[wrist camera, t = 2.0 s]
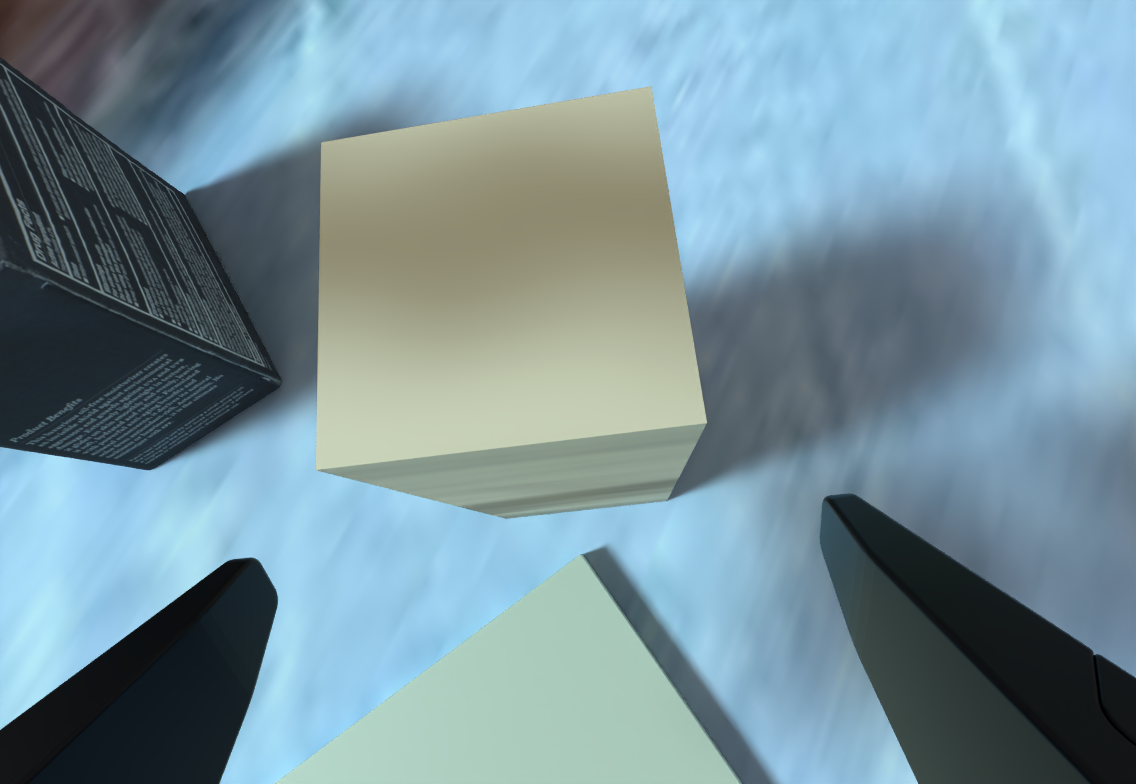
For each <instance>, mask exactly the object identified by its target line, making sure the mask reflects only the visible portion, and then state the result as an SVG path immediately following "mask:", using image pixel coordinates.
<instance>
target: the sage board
mask: <svg viewBox="0 0 1136 784" xmlns="http://www.w3.org/2000/svg"><path fill="white" fill-rule="evenodd" d="M275 784H742V782H741V781H740V779H739V778H738V776H737V775H736V774H735V772H734V771H733V769H732V768H731V766H730V765H729V764H728V762H727V761H726V759H725V758H724V756H723V755H722V753H721V752H720V751H719V749H718V748H717V746H716V745H715V743H714V742H713V741H712V739H711V738H710V736H709V735H708V733H707V732H706V731H705V729H704V728H703V726H702V725H701V723H700V722H699V720H698V719H697V718H696V716H695V715H694V713H693V712H692V710H691V709H690V708H689V706H688V705H687V703H686V702H685V700H684V699H683V697H682V696H681V695H680V693H679V692H678V690H677V689H676V687H675V686H674V685H673V683H672V682H671V680H670V679H669V677H668V676H667V674H666V673H665V672H664V670H663V669H662V667H661V666H660V664H659V663H658V662H657V660H656V659H655V657H654V656H653V654H652V653H651V652H650V650H649V649H648V647H647V646H646V644H645V643H644V641H643V640H642V639H641V637H640V636H639V634H638V633H637V631H636V630H635V629H634V627H633V626H632V624H631V623H630V621H629V620H628V618H627V617H626V616H625V614H624V613H623V611H622V610H621V608H620V607H619V606H618V604H617V603H616V601H615V600H614V598H613V597H612V596H611V594H610V593H609V591H608V590H607V588H606V587H605V585H604V584H603V583H602V581H601V580H600V578H599V577H598V575H597V574H596V573H595V571H594V570H593V568H592V567H591V565H590V564H589V562H588V561H587V560H586V558H585V557H584V555H583V554H580V555H579V556H577V557H576V558H575V559H573V560H572V561H571V562H569V563H568V564H567V565H565V566H564V567H563V568H561V569H560V570H559V571H557V572H556V573H555V574H553V575H552V576H551V577H549V578H548V579H547V580H545V581H544V582H543V583H541V584H540V585H539V586H537V587H536V588H535V589H533V590H532V591H531V592H529V593H528V594H527V595H525V596H524V597H523V598H521V599H520V600H519V601H517V602H516V603H515V604H513V605H512V606H511V607H509V608H508V609H507V610H505V611H504V612H503V613H501V614H500V615H499V616H497V617H496V618H495V619H493V620H492V621H491V622H489V623H488V624H487V625H485V626H484V627H483V628H481V629H480V630H479V631H477V632H476V633H475V634H473V635H472V636H471V637H469V638H468V639H467V640H465V641H464V642H463V643H461V644H460V645H459V646H457V647H456V648H455V649H453V650H452V651H451V652H449V653H448V654H447V655H445V656H444V657H443V658H441V659H440V660H439V661H437V662H436V663H435V664H433V665H432V666H431V667H429V668H428V669H427V670H425V671H424V672H423V673H421V674H420V675H419V676H417V677H416V678H415V679H413V680H412V681H411V682H409V683H408V684H407V685H405V686H404V687H403V688H401V689H400V690H399V691H397V692H396V693H395V694H393V695H392V696H391V697H389V698H388V699H387V700H385V701H384V702H383V703H381V704H380V705H379V706H377V707H376V708H375V709H373V710H372V711H371V712H369V713H368V714H367V715H365V716H364V717H363V718H361V719H360V720H359V721H357V722H356V723H355V724H353V725H352V726H351V727H349V728H348V729H347V730H345V731H344V732H343V733H341V734H340V735H339V736H337V737H336V738H335V739H333V740H332V741H331V742H329V743H328V744H327V745H325V746H324V747H323V748H321V749H320V750H319V751H317V752H316V753H315V754H313V755H312V756H311V757H309V758H308V759H307V760H305V761H304V762H303V763H301V764H300V765H299V766H297V767H296V768H295V769H293V770H292V771H291V772H289V773H288V774H287V775H285V776H284V777H283V778H281V779H280V780H279V781H277V782H276V783H275Z"/></svg>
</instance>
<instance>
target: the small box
mask: <svg viewBox="0 0 1136 784" xmlns="http://www.w3.org/2000/svg"><path fill="white" fill-rule="evenodd" d="M280 384H281V379H280V377H279V375H278V373H277V371H276V370H275V368H274V366H273V363H272V361H271V360H270V358H269V355H268V353H267V352H266V349H265V347H264V346H263V344H262V342H261V340H260V338H259V336H258V334H257V333H256V331H255V329H254V327H253V325H252V323H251V321H250V319H249V317H248V314H247V312H246V311H245V309H244V308H243V305H242V303H241V302H240V300H239V298H238V296H237V294H236V292H235V290H234V288H233V287H232V285H231V283H230V281H229V279H228V276H227V275H226V273H225V271H224V269H223V268H222V265H221V263H220V261H219V259H218V257H217V256H216V254H215V252H214V250H213V248H212V246H211V244H210V242H209V240H208V238H207V237H206V235H205V233H204V231H203V229H202V227H201V225H200V223H199V221H198V220H197V218H196V216H195V214H194V213H193V210H192V209H191V207H190V205H189V203H188V201H187V199H186V197H185V195H184V194H183V193H182V192H180V191H178V190H177V189H176V188H174V187H173V186H171V185H170V184H169V183H167V182H166V181H165V180H163V179H162V178H161V177H159V176H158V175H156V174H155V173H154V172H152V171H150V170H149V169H147V168H146V167H145V166H143V165H142V164H141V163H140V162H138V161H137V160H135V159H134V158H132V157H131V156H130V155H128V154H127V153H125V152H124V151H123V150H121V149H120V148H119V147H118V146H117V145H115V144H114V143H112V142H111V141H109V140H108V139H107V138H105V137H104V136H103V135H102V134H100V133H99V132H97V131H96V130H95V129H94V128H92V127H91V126H89V125H88V124H86V123H85V122H84V121H83V120H81V119H80V118H79V117H77V116H75V115H74V114H73V113H72V112H70V111H69V110H68V109H67V108H66V107H65V106H64V105H63V104H61V103H60V102H59V101H57V100H56V99H55V98H54V97H52V96H50V95H49V94H48V93H47V92H45V91H44V90H43V89H41V88H40V87H39V86H38V85H36V84H35V83H34V82H32V81H31V80H29V79H28V78H27V77H25V76H24V75H22V74H21V73H20V72H19V71H18V70H16V69H14V68H13V67H12V66H11V65H10V64H8V63H7V62H6V61H5V60H3V59H2V58H0V447H4V448H10V449H16V450H22V451H29V452H36V453H42V454H48V455H55V456H62V457H69V458H75V459H81V460H88V461H94V462H100V463H106V464H112V465H119V466H125V467H131V468H136V469H143V470H151V469H152V468H154V467H156V466H158V465H159V464H161V463H162V462H164V461H166V460H167V459H168V458H170V457H172V456H173V455H175V454H177V453H178V452H180V451H181V450H183V449H184V448H186V447H187V446H189V445H190V444H192V443H194V442H195V441H197V440H198V439H200V438H201V437H203V436H205V435H206V434H208V433H209V432H211V431H213V430H214V429H216V428H217V427H219V426H220V425H222V424H223V423H224V422H226V421H228V420H229V419H231V418H232V417H234V416H235V415H237V414H238V413H240V412H241V411H243V410H245V409H246V408H247V407H249V406H251V405H252V404H254V403H255V402H257V401H258V400H260V399H261V398H263V397H265V396H266V395H268V394H269V393H271V392H272V391H274V390H275V389H276V388H278V387H279V386H280Z"/></svg>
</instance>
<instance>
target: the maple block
mask: <svg viewBox="0 0 1136 784" xmlns="http://www.w3.org/2000/svg"><path fill="white" fill-rule="evenodd" d="M706 424H707V420H706V414H705V408H704V402H703V396H702V390H701V384H700V378H699V371H698V365H697V359H696V353H695V347H694V341H693V335H692V329H691V323H690V317H689V311H688V305H687V299H686V293H685V287H684V281H683V275H682V269H681V263H680V257H679V251H678V245H677V239H676V233H675V227H674V221H673V215H672V209H671V203H670V197H669V190H668V184H667V178H666V172H665V166H664V160H663V154H662V148H661V142H660V136H659V130H658V124H657V118H656V112H655V106H654V100H653V94H652V88H651V87H645V88H639V89H633V90H627V91H621V92H615V93H609V94H604V95H598V96H592V97H586V98H580V99H574V100H568V101H562V102H556V103H550V104H544V105H539V106H533V107H527V108H521V109H515V110H509V111H503V112H497V113H491V114H485V115H479V116H474V117H468V118H462V119H456V120H450V121H444V122H438V123H432V124H426V125H420V126H414V127H409V128H403V129H397V130H391V131H385V132H379V133H373V134H367V135H361V136H355V137H350V138H344V139H338V140H332V141H326V142H321V182H320V246H319V310H318V375H317V439H316V470H318V471H322V472H326V473H329V474H333V475H337V476H341V477H345V478H349V479H353V480H357V481H361V482H365V483H369V484H372V485H376V486H380V487H384V488H388V489H392V490H396V491H400V492H404V493H408V494H412V495H415V496H419V497H423V498H427V499H431V500H435V501H439V502H443V503H447V504H451V505H455V506H458V507H462V508H466V509H470V510H474V511H478V512H482V513H486V514H490V515H494V516H498V517H502V518H505V519H507V518H516V517H525V516H534V515H544V514H553V513H562V512H571V511H580V510H589V509H598V508H607V507H617V506H626V505H635V504H644V503H653V502H662V501H667V500H668V498H669V496H670V494H671V492H672V490H673V488H674V486H675V484H676V482H677V481H678V479H679V477H680V475H681V473H682V471H683V469H684V467H685V465H686V463H687V461H688V459H689V457H690V455H691V453H692V451H693V449H694V447H695V446H696V444H697V442H698V440H699V438H700V436H701V434H702V432H703V430H704V428H705V426H706Z"/></svg>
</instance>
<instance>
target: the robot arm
mask: <svg viewBox="0 0 1136 784" xmlns="http://www.w3.org/2000/svg"><path fill="white" fill-rule="evenodd" d="M820 544H821V549H822V553H823V556H824V559H825V562H826V565H827V568H828V571H829V574H830V577H831V580H832V582H833V585H834V588H835V591H836V594H837V597H838V600H839V603H840V606H841V609H842V612H843V615H844V618H845V621H846V624H847V627H848V630H849V633H850V635H851V638H852V641H853V644H854V646H855V649H856V651H857V653H858V656H859V658H860V660H861V662H862V665H863V667H864V669H865V671H866V673H867V675H868V677H869V679H870V682H871V684H872V686H873V688H874V690H875V692H876V694H877V697H878V699H879V701H880V703H881V705H882V707H883V709H884V711H885V714H886V716H887V718H888V720H889V722H890V724H891V726H892V728H893V731H894V733H895V735H896V737H897V739H898V741H899V743H900V746H901V748H902V750H903V752H904V754H905V756H906V758H907V760H908V763H909V765H910V767H911V769H912V771H913V773H914V775H915V778H916V780H917V782H918V784H1136V678H1135V677H1134V676H1132V675H1131V674H1129V673H1128V672H1126V671H1124V670H1123V669H1121V668H1120V667H1118V666H1117V665H1115V664H1114V663H1112V662H1111V661H1109V660H1108V659H1106V658H1105V657H1103V656H1102V655H1099V654H1096V655H1094V654H1093V651H1092V649H1090V648H1089V647H1087V646H1086V645H1084V644H1083V643H1081V642H1080V641H1078V640H1077V639H1075V638H1074V637H1072V636H1071V635H1069V634H1068V633H1066V632H1064V631H1063V630H1061V629H1060V628H1058V627H1057V626H1055V625H1054V624H1052V623H1051V622H1049V621H1048V620H1046V619H1045V618H1043V617H1042V616H1040V615H1038V614H1037V613H1035V612H1034V611H1032V610H1031V609H1029V608H1028V607H1026V606H1025V605H1023V604H1022V603H1020V602H1019V601H1017V600H1016V599H1014V598H1012V597H1011V596H1009V595H1008V594H1006V593H1005V592H1003V591H1002V590H1000V589H999V588H997V587H996V586H994V585H993V584H991V583H990V582H988V581H986V580H985V579H983V578H982V577H980V576H979V575H977V574H976V573H974V572H973V571H971V570H970V569H968V568H967V567H965V566H964V565H962V564H960V563H959V562H957V561H956V560H954V559H953V558H951V557H950V556H948V555H947V554H945V553H944V552H942V551H941V550H939V549H938V548H936V547H934V546H933V545H931V544H930V543H928V542H927V541H925V540H924V539H922V538H921V537H919V536H918V535H916V534H915V533H913V532H912V531H910V530H908V529H907V528H905V527H904V526H902V525H901V524H899V523H898V522H896V521H895V520H893V519H892V518H890V517H889V516H887V515H886V514H884V513H883V512H881V511H879V510H878V509H876V508H875V507H873V506H872V505H870V504H869V503H867V502H866V501H864V500H863V499H861V498H860V497H858V496H856V495H854V494H840V495H830V496H827V497H825V498H824V500H823V503H822V514H821V527H820ZM277 605H278V596H277V592H276V589H275V587H274V586H273V584H272V582H271V580H270V579H269V577H268V575H267V573H266V572H265V570H264V568H263V566H262V565H261V563H260V562H259V561H258V560H257V559H255V558H241V559H233V560H229V561H227V562H226V563H224V564H223V565H221V566H220V567H219V568H217V569H216V570H215V571H213V572H212V573H211V574H209V575H208V576H207V577H205V578H204V579H203V580H201V581H200V582H199V583H197V584H196V585H195V586H193V587H192V588H190V589H189V590H188V591H186V592H185V593H184V594H182V595H181V596H180V597H178V598H177V599H176V600H174V601H173V602H172V603H170V604H169V605H168V606H166V607H165V608H164V609H162V610H161V611H160V612H158V613H157V614H156V615H154V616H153V617H152V618H150V619H149V620H147V621H146V622H145V623H143V624H142V625H141V626H139V627H138V628H137V629H135V630H134V631H133V632H131V633H130V634H129V635H127V636H126V637H125V638H123V639H122V640H121V641H119V642H118V643H117V644H115V645H114V646H113V647H111V648H110V649H108V650H107V651H106V652H104V653H103V654H102V655H100V656H99V657H98V658H96V659H95V660H94V661H92V662H91V663H90V664H88V665H87V666H86V667H84V668H83V669H82V670H80V671H79V672H78V673H76V674H75V675H74V676H72V677H71V678H69V679H68V680H67V681H65V682H64V683H63V684H61V685H60V686H59V687H57V688H56V689H55V690H53V691H52V692H51V693H49V694H48V695H47V696H45V697H44V698H43V699H41V700H40V701H39V702H37V703H36V704H35V705H33V706H32V707H31V708H29V709H28V710H26V711H25V712H24V713H22V714H21V715H20V716H18V717H17V718H16V719H14V720H13V721H12V722H10V723H9V724H8V725H6V726H5V727H4V728H2V729H1V730H0V784H219V783H220V781H221V778H222V775H223V773H224V770H225V768H226V765H227V762H228V760H229V757H230V755H231V752H232V749H233V747H234V744H235V741H236V739H237V736H238V734H239V731H240V728H241V726H242V723H243V721H244V718H245V715H246V713H247V710H248V707H249V704H250V701H251V699H252V695H253V692H254V689H255V686H256V682H257V679H258V675H259V671H260V668H261V664H262V661H263V657H264V653H265V650H266V646H267V642H268V639H269V635H270V631H271V628H272V624H273V621H274V617H275V613H276V610H277Z"/></svg>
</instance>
